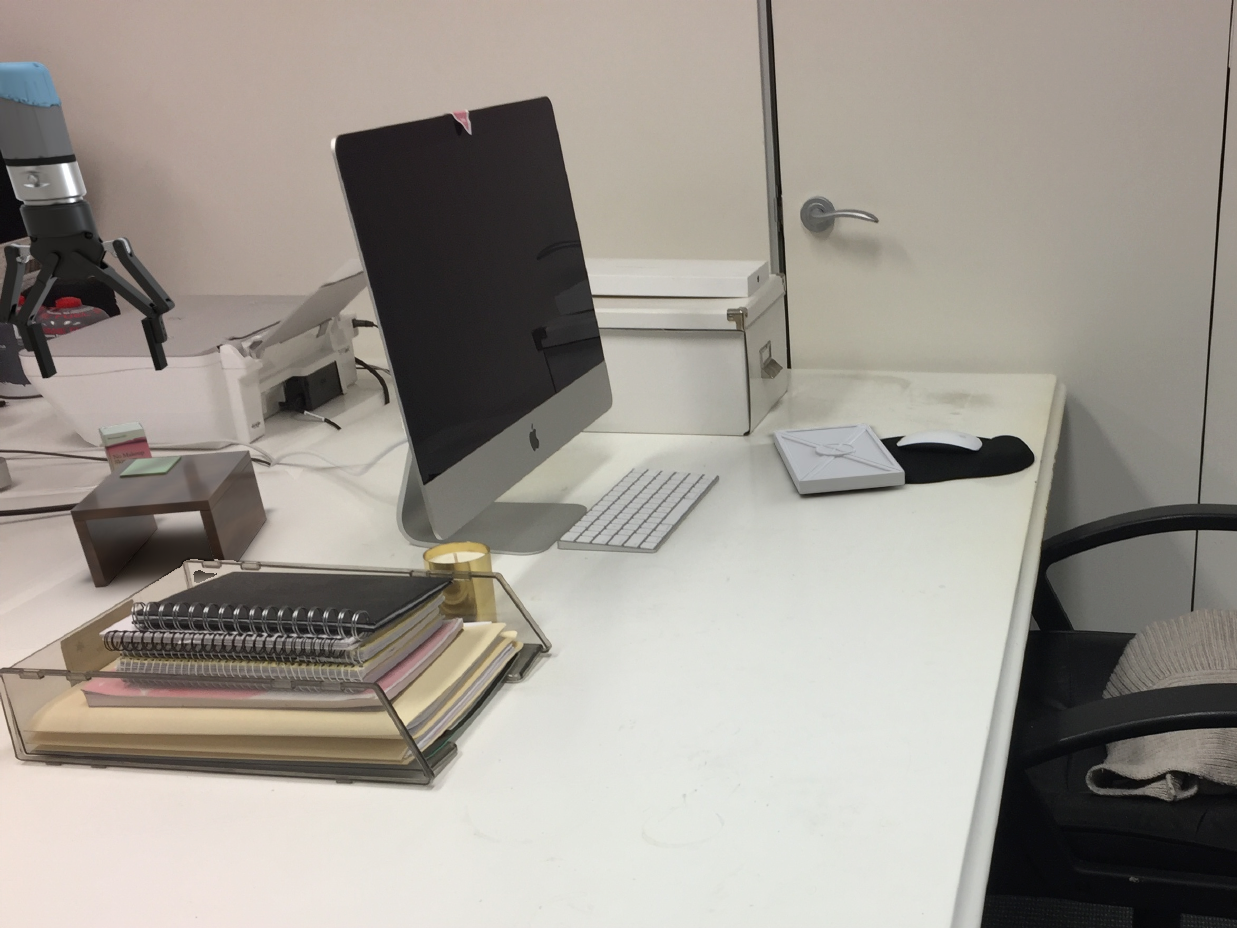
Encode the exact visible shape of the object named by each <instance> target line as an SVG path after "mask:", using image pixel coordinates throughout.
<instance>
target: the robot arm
mask: <svg viewBox="0 0 1237 928" xmlns="http://www.w3.org/2000/svg"><path fill="white" fill-rule="evenodd" d="M0 153H1V155H2V159H3V160H4V164H5V167H6V170H7V174H8V176H9V179H10V182H11V185H12V188H13V192H14V195H15V198H16V199H17V200H19V201H21V202H23V204H21V205H20V207H19V212H20V214H21V218H22V220H23V224H24V227H25V231H26V233H27V235H28V238H29V240H30V245H24V244H23V245H22V244H21V243H19V242H14V243H11V244H8V245H6V246H4V247H3V252H4V259H5V262H6V266H5V272H4V273H5V274H4V277H3V282H2V288H1V293H0V323H2V324H11V325H14V326H15V327H16V328H17V329H18V332H19V335H20V337H21V341H22V343H23V347H24V349H25V350H26V352H27V353H32V352H33V354H34V357H35V360H36V363H37V366H38V369H39V372H40V375H41V378H42V379H44V380H45V379H50V378H52V377H54V376H55V375H57V374H58V371H57V368H56V365H55V362H54V358H53V356H52V353H51V350H50V347H49V344H48V341H47V337H46V334H45V332H44V328H43V325H42V322H35V317H36V316H37V314H38V312H39V310H40V308H41V306H42V305H43V304H44V301H45V299H46V297H47V295H48V294H49V292H50V290H51V288H52V287H53V285H54V283H55V281H56V280H57V279H59V280H60V281H69V280H72V279H78V280H88V279H90V278H92V277H94V278H95V279H96V280H98V281H99V282H101V283H104V284H105V285H106V286H108V287H109V288H110V289H111V290H113V291H114V292H115V293H116V294H117V295H118V296H119V297H121V298H122V299H124V300H125V301H126V302H127V303H129V304H130V305H131V306H133V308H135V309H136V310H138V311H139V312H140V313H141V314H143V315H144V316H145V317H144V318H142V319H140V322H141V326H142V330H143V332H144V336H145V339H146V343H147V347H148V350H149V353H150V357H151V360H152V364H153V368H154V371H155V372H158V371H163V370H164V369H165V368H167V367H168V366H169V364H168V361H167V356H166V353H165V349H164V346H163V344H164V343H165V342H167V341H168V332H167V329H166V325H165V323H164V319H163V316H164V314H167V313H169V312H170V311H172V310H173V309H174V308H176V304H175V302H174V301H173V299H172V298H171V297H170V296H169V294H168V293H167V292H166V291H165V290H164V288H163V287H162V285H160V283H159V282H158V281H157V280H156V279H155V277H154V276H153V275H152V274H151V272H150V271H149V270H148V269H147V267H145V265H144V263H142V262H141V260H140V259H139V257H138V256H137V255H136V254H135V252H134V249H133V246H132V244H131V242H130V240H129V239H128V238H127V237H126V236H121V237H118V238H117V239H112V240H107V241H104V240H103V239H102V237H100V234H99V231H98V226H97V223H96V220H95V216H94V213H93V210H92V206H91V203H90V201H88V199H84V197H85V196H86V195H87V189H86V185H85V182H84V179H83V176H82V172H81V169H80V167H79V163H78V160H77V157H76V154H75V153H74V149H73V145H72V142H71V138H70V135H69V130H68V126H67V122H66V118H65V114H64V110H63V107H62V100H61V98H60V97H59V95H58V92H57V89H56V86H55V84H54V81H53V77H52V75H51V72H50V70H49V69H48V67H46V65H44V64H42V62H39V61H12V62H10V61H9V62H6V61H5V62H0ZM107 252H108V253H110V254H111V256H112V257H113V258H115V259H118V261H119V263H120V264H121V265H122V267H123V268H124V269H125V270H126V271H127V273H128V274H129V275H130V276H131V277H132V278H133V280H134V281H135V282H136V283H137V284H138V286H139V287H140V288H141V289H142V291H143V292H144V293H145V294H146V295H147V296H146V295H145V294H144V293H143V292H141V291H140V290H139V289H138V288H136V287H135V286H134V285H133V284H132V283H130V282H129V281H128V280H126V279H125V278H124V277H123V276H122V275H120V274H119V273H118V272H117V271H116V269H115V268H114V267H113V266H111V265H110V264H109V263H108V262H106V260H104V259H105V256H106V254H107ZM30 256H31V257H32V258H33V259H34V260H35V261H36V262H37V263H39V264H40V265H41V268H40V270H39V272H38V273H37V275H36V278H35V280H34V283H33V285H32V286H31V289H30V290H29V292H28V294H27V296H26V298H25V299H24V301H23V303H22V305H21V306H20V309H19V311H18V307H19V301H20V298H21V297H20V296H21V291H22V286H23V282H24V277H25V271H26V264H27V263H28V262H29V261H30ZM34 322H35V323H34Z"/></svg>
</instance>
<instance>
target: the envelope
mask: <svg viewBox="0 0 1237 928" xmlns="http://www.w3.org/2000/svg"><path fill="white" fill-rule="evenodd" d="M772 433H773V444H774V445H775V447H776V449H777V451H778V453H779V456H780V457H781V459H782V461H783V464H784V465H785V468H786V470H787V472H788V473H789V476H790V478H791V480H792V482H793V483H794V485H795V487H796V490H797V491H798V494H800V495H805V494H806V495H807V494H817V493H829V492H840V491H849V490H862V489H871V488H884V487H893V486H895V487H896V486H904V485H905V484H906V479H905V478H906V477H905V476H906V473H905V470H904V469H903V467H902V466H901V465H900V464H899V462H897V460H896V458H894V456H893V455H892V453H891V452H890V451H889V450H888V448H887V447H886V446H885V445H884V444H883V442H882V440H880V438H879V436H878V435H876V433H875V432H874V430H873V429H872V428H871V427H870V425H869V424H868V423H866V422H863V423H853V424H851V423H849V424H840V425H828V426H826V425H825V426H815V427H804V428H803V427H802V428H791V429H790V428H789V429H779V430H773V432H772Z"/></svg>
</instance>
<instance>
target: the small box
mask: <svg viewBox="0 0 1237 928" xmlns="http://www.w3.org/2000/svg"><path fill="white" fill-rule="evenodd" d="M97 430H98V433H99V436H100V437H99V438H100V440H101V443H102V446H103V447H102V448H103V450H104V453H105V457H106V459H107V463H108V467H109V469H110V472H111V473H112V472H113V471H115V470H116V469H117V468H118V467H119V466H120V465H121V464H122V463H123V462H124V461H125V460H127V459H140V458H153V456H152V453H151V449H150V446H149V442H148V439H147V435H146V432H145V431H146V430H145V428H144V426H143V425H142V424H141V422H140V421H134V422H133V421H132V422H127V423H119V424H114V425H108V426H103V427H98V428H97ZM111 473H110V474H111Z"/></svg>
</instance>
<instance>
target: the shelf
mask: <svg viewBox="0 0 1237 928" xmlns="http://www.w3.org/2000/svg"><path fill="white" fill-rule="evenodd" d="M260 491H261V490H260V488H259V484H258V479H257V475H256V472H255V468H254V465H253V461H252V456H251V452H250V450H249V449H247V450H235V451H222V452H221V451H219V452H209V453H207V452H206V453H196V454H195V453H194V454H183V455H169V456H155V457H153V456H152V458H140V459H127V460H125V461H124V462H123V463H122V464H121V465H120V466H119V467H118V468H117V469H116V470H115V471H113V472H112V473H110V474H109V475H108V476H107V477H106V478H105V479H103V480H102V481H101V482H100V483H99V484H97V486H96V487H95V488H94V489H93V490H91V491H90V493H88V494H87V495H86V496H85V497H83V498H82V499H81V500H80V501H79V502H78V503H77V504H76V505H75V506H74V507H73V508H72V509H70V512H69V513H70V515H71V519H72V521H73V524H74V527H75V531H76V533H77V536H78V539H79V543H80V545H81V548H82V552H83V554H84V558H85V561H86V563H87V566H88V569H89V573H90V575H91V578H92V582H93V584H94V587H95V588H100V587H107V586H108V585H109V584H110V583H111V582H112V580H113V579H115V578H116V576H117V575H118V574H119V573H120V572H121V570H122V569H123V568H124V567H125V566H126V565H127V563H129V562H130V561H131V559H132V558H133V557H134V556H135V555H136V553H137V552H138V551H139V550H140V549H141V548H142V546H144V544H145V543H146V542H147V541H148V540H149V539H150V537H151V536H152V535H153V534H154V533H155V532H156V531H157V530H158V524H157V522H156V517H155V515H166V514H178V513H179V514H180V513H191V512H199V514H200V518H201V521H202V525H203V529H204V532H205V535H206V538H207V542H208V546H209V550H210V553H211V556H212V560H213V559H218V560H234V561H238V562H239V561H240V559H241V558H242V556H243V555H244V553H245V552H246V550H247V549H248V547H250V544H251V543H252V542H253V539H255V537H256V536H257V534H258V533H259V531H260V529H261V528H262V527H263V525H264V523H265V522H266V521H267V519H268V518H267V515H266V511H265V507H264V504H263V500H262V496H261V492H260Z"/></svg>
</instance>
